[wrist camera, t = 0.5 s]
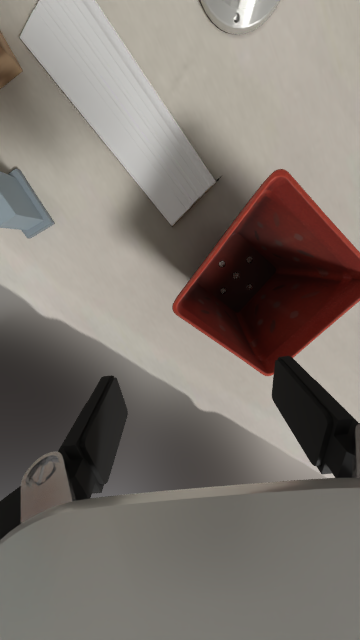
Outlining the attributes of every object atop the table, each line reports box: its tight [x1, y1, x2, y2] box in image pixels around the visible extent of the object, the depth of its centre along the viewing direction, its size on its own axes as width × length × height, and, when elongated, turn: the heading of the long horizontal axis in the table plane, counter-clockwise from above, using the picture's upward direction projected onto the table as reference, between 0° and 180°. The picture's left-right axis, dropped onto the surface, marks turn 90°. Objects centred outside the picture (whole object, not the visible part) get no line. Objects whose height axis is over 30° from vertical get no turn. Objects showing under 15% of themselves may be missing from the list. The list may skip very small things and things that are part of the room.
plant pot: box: [173, 169, 360, 376], centre depth 30 cm, size 19×19×17 cm
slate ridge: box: [0, 168, 55, 238], centre depth 30 cm, size 6×9×7 cm, turn 25°
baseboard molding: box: [20, 0, 221, 226], centre depth 28 cm, size 31×3×12 cm
